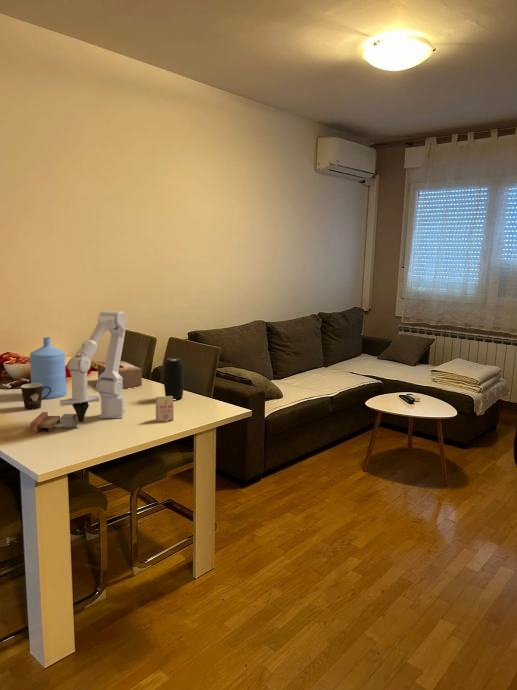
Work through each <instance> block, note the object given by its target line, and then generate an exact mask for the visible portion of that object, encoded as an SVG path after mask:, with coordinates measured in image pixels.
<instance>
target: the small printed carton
mask: <svg viewBox="0 0 517 690" xmlns="http://www.w3.org/2000/svg"><path fill="white" fill-rule="evenodd" d="M156 420H157V421H164V422H167V421H166V420H174V400H173V396H155V421H156ZM157 421H156V422H157Z"/></svg>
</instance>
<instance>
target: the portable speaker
mask: <svg viewBox="0 0 517 690" xmlns="http://www.w3.org/2000/svg"><path fill="white" fill-rule="evenodd" d="M184 368H185V367H184V364H183V359H182V358H180V357H177V356H176V357H175V356H171V357H168V358H165V361H164V368H163V386H164V395H165V396H173V399H177V400H178V399H181V398H182V399H183V395H184V389H185V369H184Z"/></svg>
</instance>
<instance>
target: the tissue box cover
mask: <svg viewBox="0 0 517 690" xmlns="http://www.w3.org/2000/svg"><path fill="white" fill-rule="evenodd" d="M105 367H106V362H102V363H101V362H99V363H97V381H98V380H99V376H100V374H102V373H103V372H104V371H105ZM118 373H119V375H120V376H121V377H122V378H123V380H122V384H123V389H124V390H129V389H128V388H132V389H135V388H134V387H139V386H142V387H143V380H142V378H143V377H142V374H143V373H142V368H141V367H138V366H136V365H133V364H131V363H129V362H127V361H124V360H120V365H119V371H118ZM109 379H110V380H113V379H112V378H109Z"/></svg>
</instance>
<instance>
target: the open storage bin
mask: <svg viewBox="0 0 517 690" xmlns="http://www.w3.org/2000/svg"><path fill="white" fill-rule="evenodd" d="M60 421H71V422H63V423H62V424H61V426H60V429H61V430H73V429H74V430H75V429H76V428H75V427H77V426H78V423H79V421H78V417H77V414H76V413H64V414H63V415H62V416H60Z"/></svg>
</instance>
